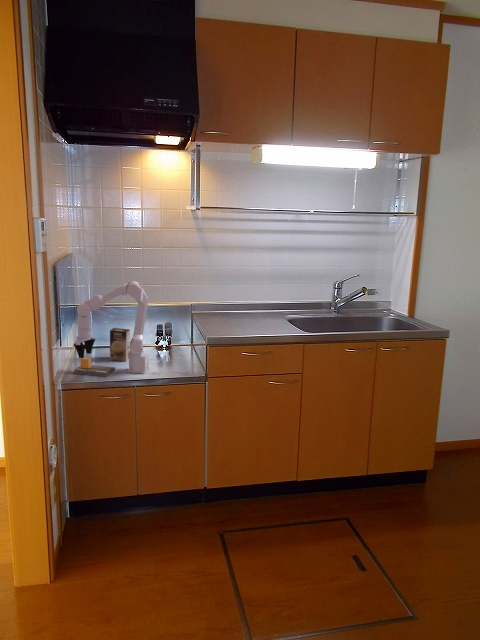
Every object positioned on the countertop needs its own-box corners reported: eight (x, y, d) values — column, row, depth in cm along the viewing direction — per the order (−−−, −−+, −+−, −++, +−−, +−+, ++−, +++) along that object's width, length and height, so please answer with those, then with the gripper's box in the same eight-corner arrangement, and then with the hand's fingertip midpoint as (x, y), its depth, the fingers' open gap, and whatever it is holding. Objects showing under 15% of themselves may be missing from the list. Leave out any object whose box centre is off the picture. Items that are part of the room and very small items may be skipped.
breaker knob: (91, 366, 244) (91, 357, 243) (88, 368, 241) (88, 359, 240) (83, 365, 245) (83, 357, 244) (80, 367, 242) (80, 358, 241)
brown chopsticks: (115, 369, 249) (115, 367, 249) (113, 370, 247) (113, 368, 247) (85, 366, 252) (85, 364, 251) (83, 367, 249) (83, 365, 249)
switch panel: (113, 371, 246) (113, 367, 245) (106, 376, 238) (106, 372, 237) (82, 368, 248) (82, 364, 248) (74, 373, 240) (74, 369, 240)
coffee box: (109, 360, 263) (108, 330, 260) (113, 356, 269) (113, 327, 266) (126, 361, 262) (126, 331, 259) (130, 358, 268) (130, 328, 265)
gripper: (83, 324, 247) (84, 350, 250) (68, 331, 233) (69, 359, 236) (97, 325, 246) (97, 352, 249) (83, 332, 232) (84, 360, 235)
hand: (85, 355), depth 242 cm, fingers open, 7 cm apart
